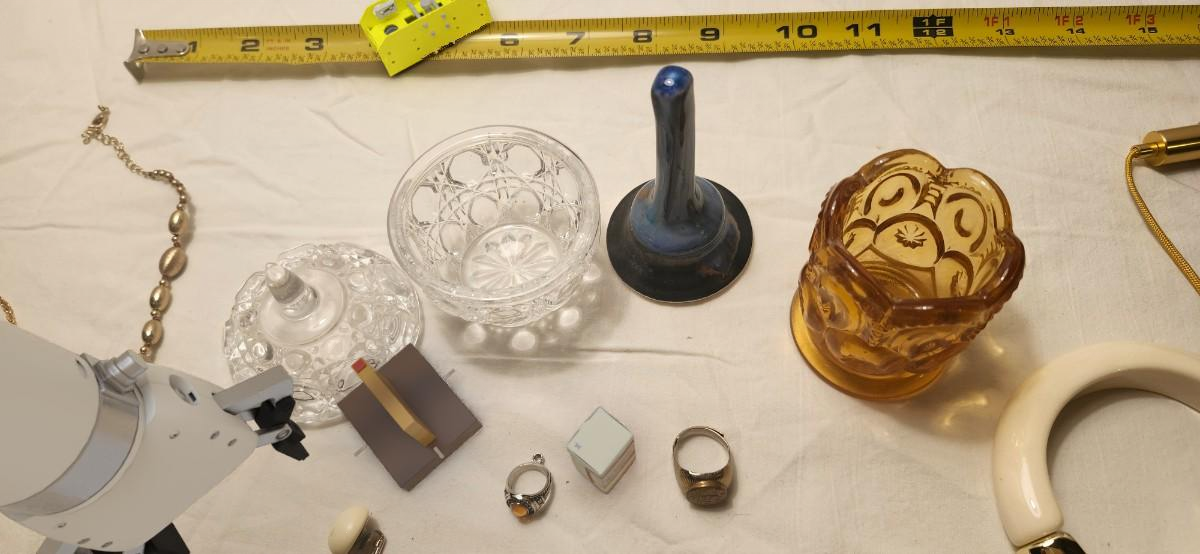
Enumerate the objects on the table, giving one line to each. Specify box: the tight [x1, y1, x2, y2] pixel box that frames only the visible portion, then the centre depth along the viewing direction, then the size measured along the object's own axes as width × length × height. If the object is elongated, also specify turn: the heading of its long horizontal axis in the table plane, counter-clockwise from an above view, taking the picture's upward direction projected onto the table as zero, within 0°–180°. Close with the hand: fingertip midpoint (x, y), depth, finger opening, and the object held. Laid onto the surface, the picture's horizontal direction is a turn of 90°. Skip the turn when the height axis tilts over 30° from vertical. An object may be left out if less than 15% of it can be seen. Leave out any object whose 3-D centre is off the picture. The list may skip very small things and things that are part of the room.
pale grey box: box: [565, 405, 637, 495], centre depth 72 cm, size 5×4×10 cm
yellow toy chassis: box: [358, 0, 493, 77], centre depth 99 cm, size 16×6×8 cm, turn 123°
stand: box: [336, 342, 483, 493], centre depth 79 cm, size 13×13×3 cm
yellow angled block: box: [350, 356, 436, 447], centre depth 74 cm, size 9×1×7 cm, turn 43°
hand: (237, 491), depth 51 cm, fingers open, 9 cm apart
